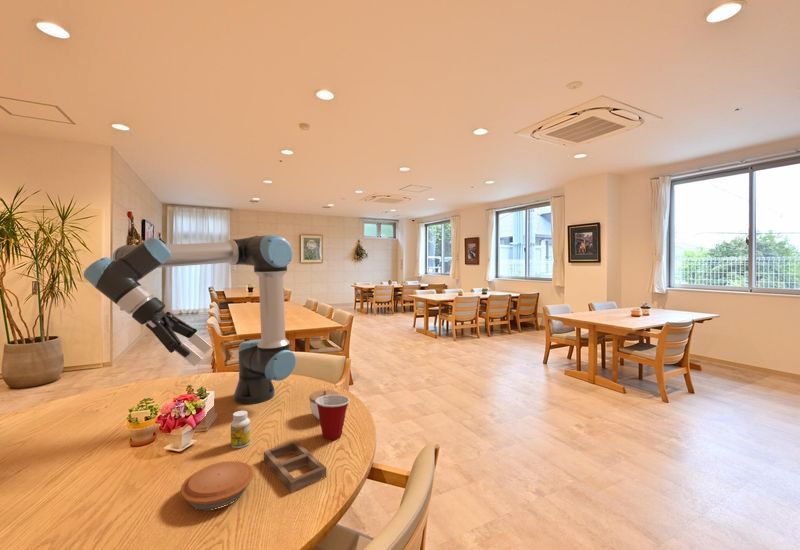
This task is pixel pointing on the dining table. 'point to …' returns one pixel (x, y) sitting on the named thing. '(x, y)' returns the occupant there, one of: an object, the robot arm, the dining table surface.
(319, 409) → the plastic cup
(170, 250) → the robot arm
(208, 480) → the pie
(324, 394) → the lidded jar
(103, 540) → the dining table surface
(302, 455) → the two-window wooden frame
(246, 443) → the supplement bottle
